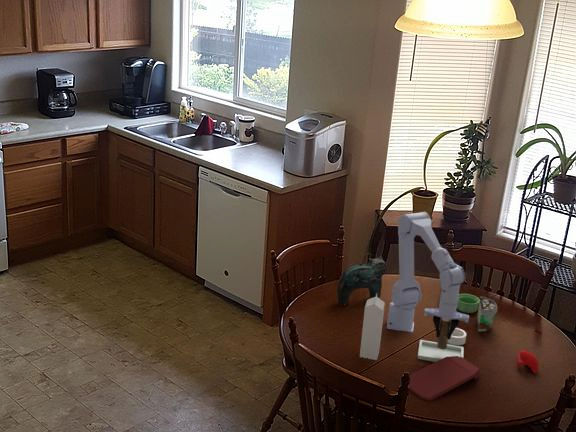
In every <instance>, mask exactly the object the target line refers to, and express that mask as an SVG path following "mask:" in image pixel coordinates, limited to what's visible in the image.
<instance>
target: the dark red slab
mask: <svg viewBox="0 0 576 432" xmlns="http://www.w3.org/2000/svg"><path fill="white" fill-rule="evenodd" d="M409 375H410V385H409V389H408V390H409V391H410V392H412V393H413V394H415V395H416V396H417V397H418V398H420V399H422V400H425V401H432V400H435V399H437V398H439V397H440V396H443V395H444V394H446V393H448V392H449V391H452V390H454V389H455V388H458V387H459V386H461V385H463V384H465V383H467V382H468V381H470V380H472V379H473V380H477V379H479V378H480V367H478V366H476V365H475V364H474V363H472V362H470V361H469V360H467V359H466V358H464V356H463V357H459V356H450V357H445V358H443V359H441V360H439V361H437V362H433V363H431V364H429V365H427V366H425V367H422V368H421V369H419V370H417V371H415V372H413V373H411V374H409Z"/></svg>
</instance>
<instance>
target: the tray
mask: <svg viewBox="0 0 576 432" xmlns="http://www.w3.org/2000/svg"><path fill="white" fill-rule="evenodd" d="M437 343H438V341H437V342H436V341H429V340H426V339H425V340H424V339H419V346H418V350H417V351H418V352H417V360H422V361H428V362H433V363H435V362H437V361H439V360H441V359H443V358H445V357H450V356H459V357H463V358H464V350H465V349H464V346H461V345H452V344H449V343H447V348H446V349H444V350H443V349H439V348H438V347H437Z"/></svg>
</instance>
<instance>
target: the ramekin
mask: <svg viewBox="0 0 576 432" xmlns="http://www.w3.org/2000/svg"><path fill="white" fill-rule="evenodd" d="M479 300H480V297H478V296H476V295H472V294H469V293H459V295H458V302H457V308H456V310H458V311H459V312H462V313H464V314H465V313H466V314H473V313H475V312H478V308H479Z"/></svg>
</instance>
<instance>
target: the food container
mask: <svg viewBox="0 0 576 432" xmlns="http://www.w3.org/2000/svg"><path fill="white" fill-rule="evenodd" d="M479 299H480V300H479V305H478V309H477V314H476V323H477V332H481V333H482V332H484V333H485V332H489V331H490V330H492V326H493V322H494V319H495V314H497V313H498V305H497V303H496V301H495V300H493V299H491V298H488V297H486V296H483V295H482V296H479Z"/></svg>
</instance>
